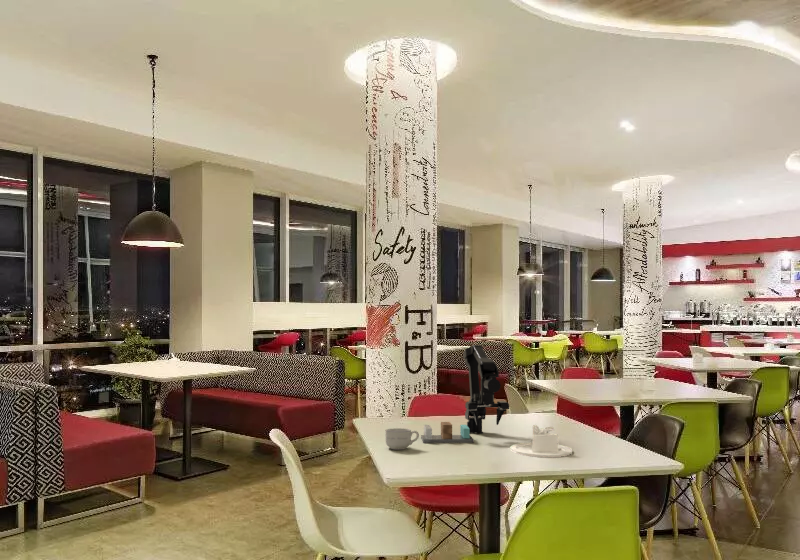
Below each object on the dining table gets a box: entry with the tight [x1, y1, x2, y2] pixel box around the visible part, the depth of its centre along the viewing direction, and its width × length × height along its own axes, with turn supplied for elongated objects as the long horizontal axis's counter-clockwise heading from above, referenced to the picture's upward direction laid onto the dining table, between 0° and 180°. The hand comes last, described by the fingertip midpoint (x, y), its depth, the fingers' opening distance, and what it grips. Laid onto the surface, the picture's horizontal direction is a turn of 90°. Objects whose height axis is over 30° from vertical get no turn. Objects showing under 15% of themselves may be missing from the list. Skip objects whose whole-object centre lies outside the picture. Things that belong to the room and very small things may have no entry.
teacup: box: [385, 427, 420, 451], centre depth 266 cm, size 14×11×8 cm
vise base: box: [420, 424, 475, 444], centre depth 284 cm, size 22×10×6 cm, turn 93°
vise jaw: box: [459, 424, 471, 438], centre depth 285 cm, size 2×10×4 cm, turn 3°
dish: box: [509, 424, 573, 458], centre depth 264 cm, size 25×25×11 cm
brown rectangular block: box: [440, 421, 453, 439], centre depth 284 cm, size 4×8×6 cm, turn 3°
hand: (487, 425), depth 286 cm, fingers open, 9 cm apart
